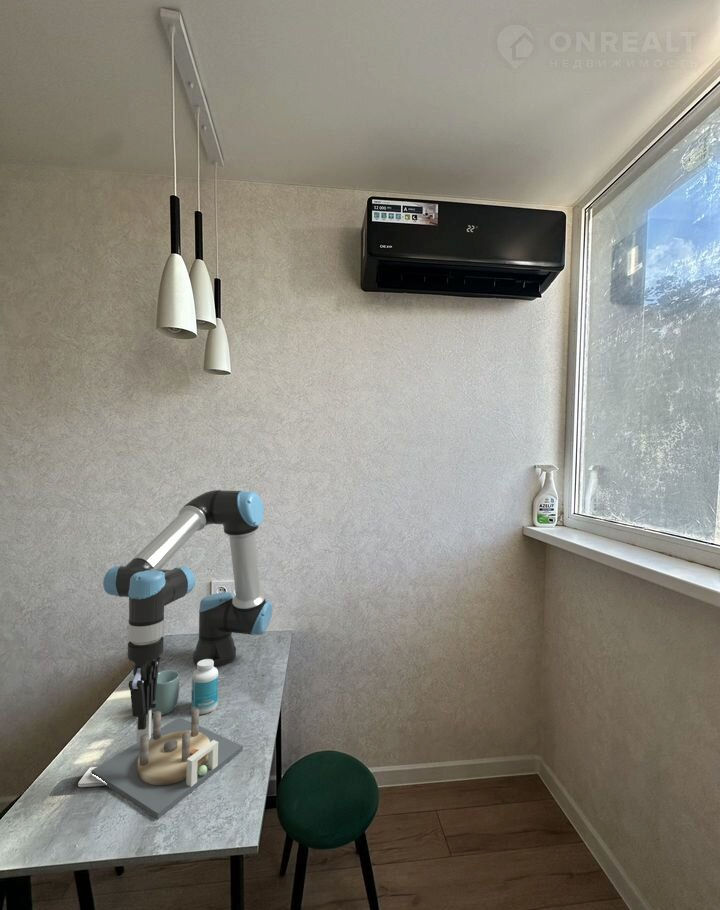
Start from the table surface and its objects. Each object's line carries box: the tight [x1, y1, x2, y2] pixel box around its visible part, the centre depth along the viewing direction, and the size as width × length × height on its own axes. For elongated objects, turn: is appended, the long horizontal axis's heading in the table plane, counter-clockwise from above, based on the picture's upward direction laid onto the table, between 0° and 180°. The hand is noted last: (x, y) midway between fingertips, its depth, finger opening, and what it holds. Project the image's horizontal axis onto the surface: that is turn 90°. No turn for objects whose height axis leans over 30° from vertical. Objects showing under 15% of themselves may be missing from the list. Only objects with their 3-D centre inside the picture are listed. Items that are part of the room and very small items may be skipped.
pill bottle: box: [190, 659, 219, 715], centre depth 126 cm, size 8×7×14 cm
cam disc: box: [138, 709, 210, 785], centre depth 103 cm, size 17×16×8 cm
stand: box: [90, 716, 244, 820], centre depth 104 cm, size 24×24×7 cm
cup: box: [150, 669, 180, 716], centre depth 125 cm, size 8×8×10 cm
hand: (143, 739), depth 100 cm, fingers closed
